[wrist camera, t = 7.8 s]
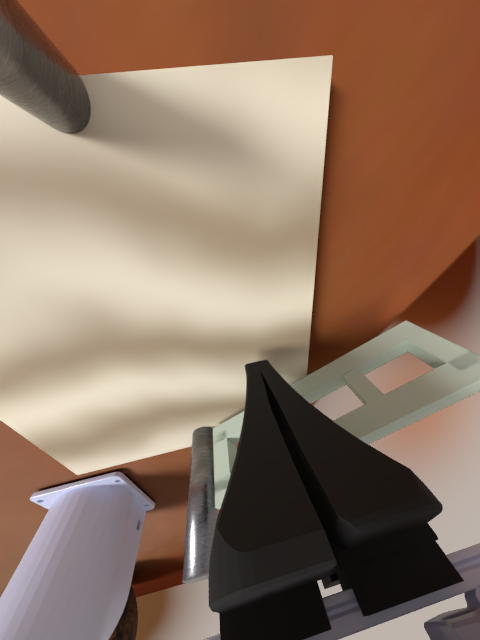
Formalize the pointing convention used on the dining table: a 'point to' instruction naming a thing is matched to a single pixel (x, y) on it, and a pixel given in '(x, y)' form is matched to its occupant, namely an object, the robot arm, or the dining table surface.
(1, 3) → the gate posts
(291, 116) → the board
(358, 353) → the gate
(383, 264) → the dining table surface
